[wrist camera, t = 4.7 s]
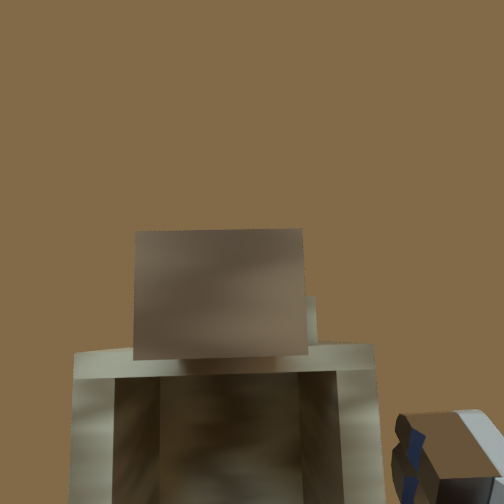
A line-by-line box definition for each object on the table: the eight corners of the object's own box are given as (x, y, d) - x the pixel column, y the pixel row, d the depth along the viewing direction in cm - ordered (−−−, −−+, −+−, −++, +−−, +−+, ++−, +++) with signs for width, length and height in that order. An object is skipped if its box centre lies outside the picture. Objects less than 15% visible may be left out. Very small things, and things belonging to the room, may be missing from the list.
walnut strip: (260, 343, 28) (259, 294, 29) (308, 355, 10) (302, 228, 11) (196, 345, 28) (195, 296, 28) (133, 360, 10) (135, 231, 11)
